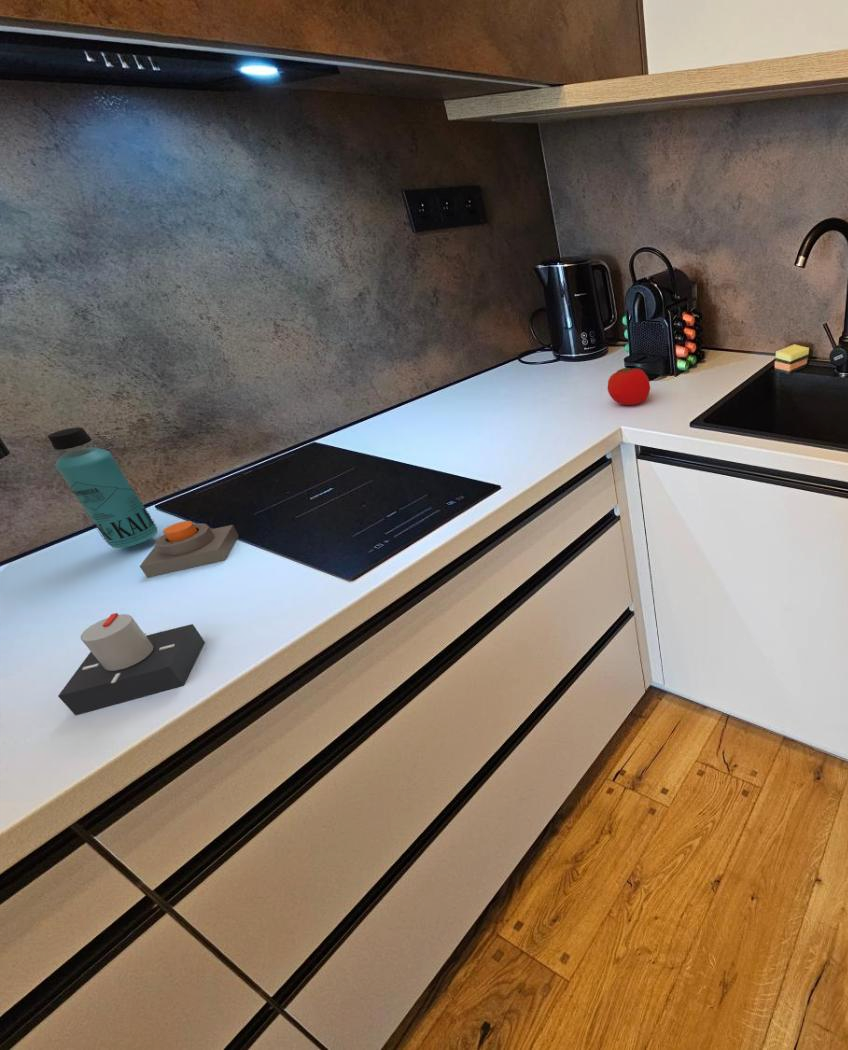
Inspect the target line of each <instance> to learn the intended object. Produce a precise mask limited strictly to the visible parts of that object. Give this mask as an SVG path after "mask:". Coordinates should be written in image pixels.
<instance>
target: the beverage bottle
mask: <svg viewBox="0 0 848 1050" xmlns="http://www.w3.org/2000/svg"><path fill="white" fill-rule="evenodd" d="M47 438H48V440H49V441H50V443H51V446H52V447H53V449H54V450H55V451H61V450H62V451H63V450H68V449H73V448H77V447H80V446H83V445H86V444H88V443H90V442H91V441H92V438H91V436H90V435H89V434H88V433H87V431H86V430H85V429H84V428H83V427H80V426H77V427H76V426H75V427H70V428H69V427H68V428H64V429H60V430H57V431H54V432H52V433H50V434H48V435H47ZM54 468H55V469H56V470H57V471H58V472H59V474H60V475H61V477H62V478H63V479H64V481H65V483H66V484H67V486H68V487H69V491H71V493H72V494H73V496H74V498H75V499H76V500H77V502H78V503H79V504H80V505H81V507H82V508H83V511H84V512H85V513H86V516H88V517H89V518H90V519H91V522H92V525H93V526H94V528H95V529H96V530H97V531H98V534H99V535H100V536H101V538H102V539H103V540H104V542H105V543H106V544H107V545H108V546H110V547H111V548H114V549H124V548H129V547H133V546H136V545H139V544H141V543H145V542H146V541H149V540H150V539H152V538H154V537H155V536H156V535H157V534H158V526H157V524H156V523H155V521H154V518H152V516H151V514H150V512H149V511H148V510H147V508H146V507H147V506H145V504H144V503H143V502H142V501H141V498H140V496H139V495H138V494H137V492H136V490H135V489H133V487H132V486H131V484H130V483H129V481H128V480H127V478H126V476H125V475H124V473H123V471H122V470H121V467H119V465H118V463H117V462H116V460H115V459H114V457H113V455H112V453H111V452H110V451H109V450H106V449H103V448H99V447H95V446H89V447H82V448H77V449H74V450H70V451H68V452H66V453H63V454H61V455H60V456H59V457H58V458H57V460H56V462H55V467H54Z"/></svg>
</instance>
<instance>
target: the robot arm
mask: <svg viewBox="0 0 848 1050" xmlns="http://www.w3.org/2000/svg"><path fill="white" fill-rule="evenodd" d="M10 454H11V452H10V450H9V449H8V447H7V446H6V445H5V443H4V441H3V440H2V438H1V437H0V460H2V459H4V458H5V457H7V456H9V455H10Z"/></svg>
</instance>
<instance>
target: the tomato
mask: <svg viewBox="0 0 848 1050" xmlns="http://www.w3.org/2000/svg"><path fill="white" fill-rule="evenodd" d="M606 389H607V393H608V394H609V396H610V397H611V399H612V400H613V401H614V402H615V403H617V404H619V405H624V406H625V405H626V406H635V405H638V404H640V403H641V404H642V402H643V403H644V401H645V400H647V398H648V397H649V395H650V391H651V384H650V379H649V377H648V375H647V374H646V372H645V371H644V370H643V369H641V368H636V367H634V368H630V367H623V368H621V369H618V370H617V371H616V372H614V373H612V375H610V376H609V378H608V381H607V388H606Z"/></svg>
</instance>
